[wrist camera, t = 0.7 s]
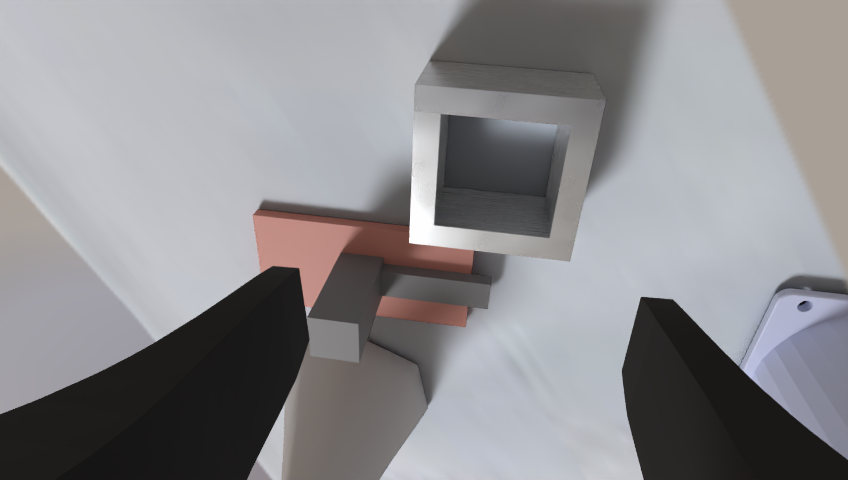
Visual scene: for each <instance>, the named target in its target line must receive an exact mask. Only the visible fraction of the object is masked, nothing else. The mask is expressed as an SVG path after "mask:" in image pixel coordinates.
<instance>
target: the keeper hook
mask: <svg viewBox="0 0 848 480" xmlns="http://www.w3.org/2000/svg"><path fill="white" fill-rule="evenodd" d="M253 220H254V227H255V234H256V242H257V249H258V256H259V263H260V270H261V273H262V272H264V271H265V270H267V269H268V268H270V267H272V266H281V267H293V268H299V270H300V277H301V284H302V290H303V297H304V304H305V306H306V307H312V309H311V311H310V313H309V315H308V317H307V321H308V331H309V338H310V340H309V343H310V354H311V356H314V357H321V358H328V359H336V360H343V361H350V362H357V363H359V362H360V359H361V356H362V354H363V351H364V348H365V345H366V342H367V339H368V336H369V333H370V331H371V328H372V325H373V322H374V319H375V316H383V317H391V318H398V319H406V320H414V321H422V322H429V323H437V324H445V325H453V326H460V327H466V319H467V310H468V307H475V308H483V309H488V301H489V294H490V287H491V276H484V275H476V274H472V265H473V256H474V250H465V249H457V248H448V247H439V246H431V245H422V244H413V243H409V238H410V226H403V225H394V224H385V223H376V222H367V221H358V220H349V219H340V218H331V217H322V216H313V215H304V214H295V213H286V212H277V211H268V210H259V209H258V210H257V211H256V212H255V213H254V214H253Z"/></svg>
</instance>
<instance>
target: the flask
mask: <svg viewBox="0 0 848 480" xmlns="http://www.w3.org/2000/svg"><path fill="white" fill-rule="evenodd" d="M427 409H428V407H427V402H426V398H425V394H424V390H423V386H422V381H421V377H420V373H419V369H418V365H416V364H414V363H412V362H410V361H408V360H406V359H404V358H402V357H400V356H398V355H396V354H394V353H392V352H390V351H387V350H385V349H383V348H381V347H379V346H377V345H375V344H373V343H371V342H369V341H367V342H366V345H365V348H364V351H363V354H362V356H361V359H360V362H359V363H357V362H350V361H343V360H336V359H328V358H321V357H314V356H311V354H310V343H308V346H307V349H306V352H305V355H304V359H303V362H302V364H301V367H300V370H299V373H298V376H297V378H296V381H295V383H294V385H293V387H292V389H291V391H290V393H289V395H288V397H287V399H286V401H285V418H284V447H283V463H282V480H379V479H380V478H381V476H382V475H383V473H384V472H385V470H386V469H387V467H388V465H389V464H390V462H391V461H392V459H393V458H394V456H395V455H396V454H397V452H398V451H399V449H400V448H401V447H402V445H403V444H404V442H405V441H406V439H407V438H408V437H409V435H410V434H411V432H412V431H413V429H414V428H415V427H416V425H417V424H418V422H419V421H420V419H421V418H422V416H423V415H424V413H425V412H426V410H427Z"/></svg>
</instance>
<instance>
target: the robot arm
mask: <svg viewBox="0 0 848 480" xmlns="http://www.w3.org/2000/svg"><path fill="white" fill-rule="evenodd" d="M803 301H807V302H806V303H805V304H803V305H798V304H799V303H801V302H803ZM309 340H310V338H309V331H308V325H307V318H306V311H305V304H304V297H303V290H302V284H301V277H300V270H299V268H293V267H281V266H272V267H270V268H268V269H267V270H265V271H264V272H262V273H260V274H259V275H257V276H256V277H254V278H253V279H252V280H250V281H249V282H247V283H246V284H244V285H243V286H241V287H240V288H238V289H237V290H236V291H234V292H233V293H231V294H230V295H228V296H227V297H225V298H224V299H222V300H221V301H219V302H218V303H216V304H215V305H214V306H212V307H211V308H209V309H208V310H206V311H205V312H203V313H202V314H200V315H199V316H197V317H196V318H194V319H192V320H191V321H189V322H187V323H186V324H184V325H183V326H181V327H179V328H178V329H176V330H174V331H173V332H171V333H170V334H168V335H166V336H165V337H163V338H162V339H160V340H158V341H157V342H155V343H153V344H152V345H150V346H148V347H146V348H145V349H143V350H141V351H139V352H137V353H135V354H134V355H132V356H130V357H128V358H126V359H124V360H122V361H120V362H118V363H116V364H115V365H113V366H111V367H109V368H107V369H105V370H103V371H101V372H99V373H97V374H94V375H92V376H90V377H88V378H86V379H83V380H81V381H79V382H77V383H74V384H72V385H70V386H68V387H65V388H63V389H61V390H59V391H56V392H54V393H52V394H50V395H48V396H45V397H43V398H41V399H38V400H36V401H33V402H31V403H28V404H26V405H23V406H21V407H18V408H15V409H13V410H10V411H8V412H5V413H3V414H0V480H247V478H248V476H249V474H250V471H251V469H252V467H253V465H254V463H255V461H256V459H257V457H258V455H259V453H260V451H261V449H262V447H263V445H264V443H265V441H266V439H267V437H268V435H269V433H270V431H271V429H272V427H273V425H274V423H275V421H276V420H277V418H278V416H279V414H280V412H281V410H282V407H283V405H284V403H285V401H286V399H287V397H288V395H289V393H290V391H291V389H292V387H293V385H294V383H295V381H296V378H297V376H298V373H299V370H300V367H301V364H302V362H303V359H304V355H305V352H306V349H307V346H308V343H309ZM622 377H623V386H624V395H625V402H626V409H627V417H628V421H629V425H630V429H631V433H632V436H633V440H634V444H635V448H636V452H637V456H638V459H639V463H640V467H641V471H642V474H643V478H644V480H848V295H844V294H835V293H827V292H818V291H809V290H801V289H784V290H781V291H779V292H778V293H776V295H775V296H774V297H773V299H772V301H771V303H770V305H769V307H768V309H767V311H766V313H765V315H764V318H763V320H762V322H761V324H760V326H759V328H758V330H757V332H756V334H755V336H754V338H753V340H752V342H751V344H750V346H749V348H748V351H747V353H746V355H745V357H744V359H743V361H742V363H741V365H740V367H739V366H738V365H737V364H736V363H734V362H733V361H732V360H731V359H730V358H729V357H728V356H727V355H726V354H725V353H724V352H723V351H722V350H721V349H720V348H719V346H718V345H717V344H716V343H715V342H714V341H713V340H712V339H711V338H710V337H709V336H708V335H707V334H706V333H705V332H704V331H703V330H702V329H701V328H700V327H699V326H698V325H697V324H696V323H695V322H694V321H693V320H692V319H691V317H690V316H689V315H688V314H687V313H686V312H685V311H684V310H683V309H682V308H681V307H680V306H679V305H678V304H677V303H676V302H675V301H674V300H673V299H661V298H649V297H641V299H640V303H639V307H638V310H637V314H636V318H635V322H634V326H633V330H632V334H631V337H630V341H629V345H628V349H627V353H626V357H625V361H624V364H623V368H622Z"/></svg>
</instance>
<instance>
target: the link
mask: <svg viewBox="0 0 848 480" xmlns="http://www.w3.org/2000/svg"><path fill="white" fill-rule="evenodd" d="M605 104H606V99H605V97H604V95H603V93H602V91H601V89H600V87H599V85H598V83H597V81H596V79H595V77H594V75H593V74H591V73H578V72H566V71H553V70H541V69H528V68H516V67H503V66H491V65H478V64H466V63H453V62H441V61H428V63H427V65H426V67H425V68H424V70H423V72H422V73H421V75H420V77H419V78H418V80H417V82H416V84H415V98H414V126H413V154H412V182H411V210H410V238H409V243H413V244H422V245H431V246H439V247H448V248H457V249H465V250H474V251H483V252H492V253H500V254H509V255H518V256H527V257H535V258H544V259H553V260H561V261H570V259H571V255H572V250H573V246H574V241H575V237H576V233H577V228H578V224H579V219H580V215H581V210H582V206H583V202H584V197H585V193H586V188H587V184H588V179H589V175H590V170H591V166H592V162H593V157H594V153H595V148H596V144H597V139H598V135H599V130H600V126H601V122H602V117H603V113H604V108H605ZM449 115H458V116H469V117H480V118H491V119H503V120H514V121H525V122H536V123H547V124H558V129H557V135H556V140H555V146H554V151H553V157H552V162H551V168H550V173H549V179H548V184H547V190H546V195H545V197H540V196H530V195H520V194H511V193H501V192H491V191H482V190H472V189H462V188H453V187H444V178H445V164H446V150H447V136H448V121H449Z"/></svg>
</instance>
